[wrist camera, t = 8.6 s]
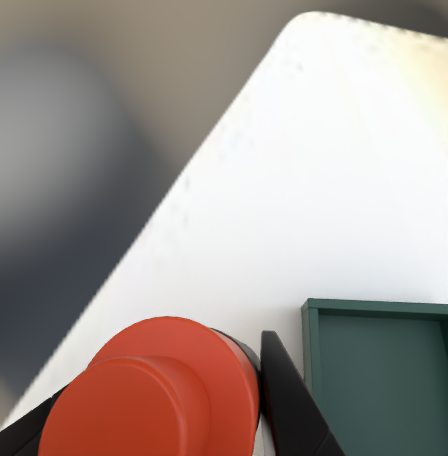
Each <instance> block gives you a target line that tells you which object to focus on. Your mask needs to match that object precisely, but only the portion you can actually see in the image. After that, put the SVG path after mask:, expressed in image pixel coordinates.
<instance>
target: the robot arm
mask: <svg viewBox="0 0 448 456" xmlns="http://www.w3.org/2000/svg"><path fill="white" fill-rule="evenodd" d="M260 382H261V391H262V407H261V428H262V439H263V451H264V456H347V455H346V453H345V452H344V450H343V448H342V447H341V445H340V443H339V442H338V440H337V438H336V436H335V435H334V433H333V431H332V430H330V426H329V424H328V423H327V421H326V419H325V417H324V416H323V414H322V412H321V410H320V409H319V407H318V405H317V403H316V402H315V400H314V398H313V396H312V395H311V393H310V391H309V389H308V388H307V386H306V384H305V382H304V381H303V379H302V377H301V375H300V374H299V372H298V370H297V368H296V367H295V365H294V363H293V361H292V360H291V358H290V356H289V354H288V353H287V351H286V349H285V347H284V346H283V344H282V342H281V340H280V339H279V337H278V335H277V333H276V332H275V331H267V330H263V331H262V333H261V354H260ZM70 383H71V382H70ZM70 383H69V384H70ZM69 384H68V385H69ZM68 385H66V386H65V387H63V388H62V389H61V390H59V391H58V392H57V393H55V394H54V395H53V396H52V398H51V397H50V398H48V399H47V400H45V401H44V402H43V403H41V404H40V405H39V406H37V407H36V408H34V409H33V410H31V411H30V412H29V413H27V414H26V415H24V416H23V417H22V418H20V419H19V420H17V421H16V422H14V423H13V424H11V425H10V426H8V427H7V428H5V429H4V430H2V431H1V432H0V456H38V450H39V444H40V439H41V435H42V431H43V428H44V425H45V423H46V420H47V418H48V415H49V413H50V411H51V409H52V407H53V406H54V404H55V402H56V401H57V399H58V397H59V396H60V395H61V393H62V392H63V391H64V389H65V388H66V387H67V386H68Z"/></svg>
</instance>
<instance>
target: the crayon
mask: <svg viewBox="0 0 448 456" xmlns="http://www.w3.org/2000/svg"><path fill="white" fill-rule="evenodd" d="M261 407H262V391H261V382H260V360H259V358H258V357H257V355H256V354H255V352H254V351H253V350H252V349H251V348H250V347H248V346H247V345H245V344H244V343H242V342H240V341H238V340H236V339H234V338H233V337H231V336H229V335H227V334H225V333H223V332H221V331H219V330H216V329H213V328H208V327H206V326H204V325H202V324H200V323H198V322H195V321H192V320H190V319H186V318H181V317H171V316H164V317H155V318H150V319H146V320H143V321H140V322H138V323H135V324H133V325H131V326H129V327H127V328H125V329H124V330H122V331H121V332H119V333H118V334H116V335H115V336H114V337H113V338H112V339H110V340H109V341H108V342H107V343H106V344H105V345H104V346H103V347H102V348H101V349H100V350H99V352H98V353H97V354H96V355H95V357H94V358H93V359H92V361H91V362H90V363H89V365H88V367H87V368H86V370H85V371H83V372H82V373H81V374H79V375H78V376H77V377H76V378H75V379H74V380H73V381H72V382H71V383H70V384H69V385H68V386H67V387H66V388H65V389H64V391H63V392H62V393H61V395H60V396H59V397H58V399H57V401H56V402H55V404H54V406H53V407H52V409H51V411H50V413H49V415H48V418H47V420H46V423H45V425H44V428H43V431H42V435H41V439H40V444H39V450H38V456H252V454H253V449H254V442H255V435H256V431H257V428H258V424H259V420H260V415H261Z"/></svg>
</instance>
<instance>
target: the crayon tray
mask: <svg viewBox="0 0 448 456" xmlns="http://www.w3.org/2000/svg"><path fill="white" fill-rule="evenodd" d="M301 309H302V334H303V360H304V382H305V384H306V386H307V388H308V389H309V391H310V393H311V395H312V396H313V398H314V400H315V402H316V403H317V405H318V407H319V409H320V410H321V412H322V414H323V416H324V417H325V419H326V421H327V423H328V424H329V426H330V430H332V431H333V433H334V435H335V436H336V438H337V440H338V442H339V443H340V445H341V447H342V448H343V450H344V452H345V453H346V455H347V456H448V304H431V303H408V302H384V301H361V300H338V299H314V298H308V299H307V301H306V302H305V303H304V305H303V306H302V308H301Z"/></svg>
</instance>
